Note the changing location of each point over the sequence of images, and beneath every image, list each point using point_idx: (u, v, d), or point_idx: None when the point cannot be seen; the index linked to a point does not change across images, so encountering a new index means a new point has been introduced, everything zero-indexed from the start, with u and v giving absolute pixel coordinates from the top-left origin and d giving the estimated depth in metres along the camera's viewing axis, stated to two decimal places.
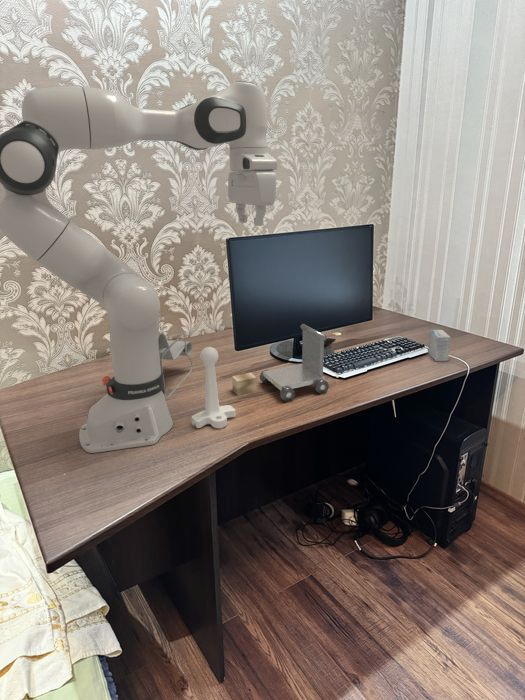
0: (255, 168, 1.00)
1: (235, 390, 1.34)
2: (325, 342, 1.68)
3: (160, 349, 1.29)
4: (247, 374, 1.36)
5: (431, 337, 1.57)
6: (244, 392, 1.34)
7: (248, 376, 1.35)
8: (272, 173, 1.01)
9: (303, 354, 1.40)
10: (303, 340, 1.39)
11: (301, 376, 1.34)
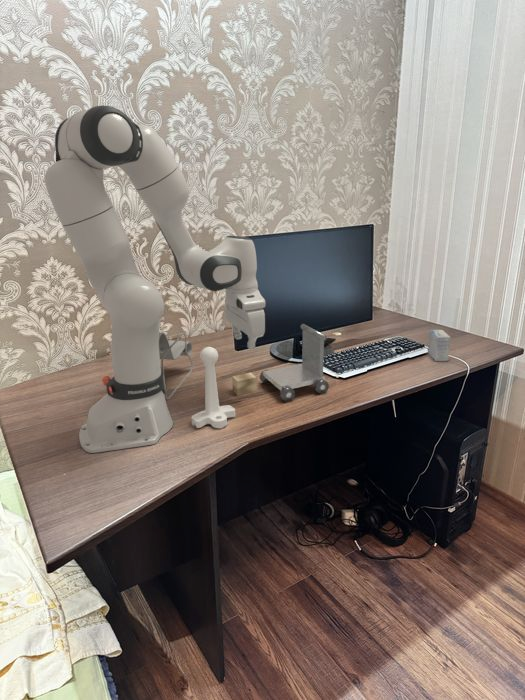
0: (247, 309, 1.19)
1: (235, 390, 1.34)
2: (325, 342, 1.69)
3: (161, 349, 1.29)
4: (247, 374, 1.36)
5: (431, 337, 1.57)
6: (244, 392, 1.34)
7: (248, 376, 1.35)
8: (261, 312, 1.20)
9: (303, 354, 1.40)
10: (303, 340, 1.39)
11: (301, 376, 1.34)
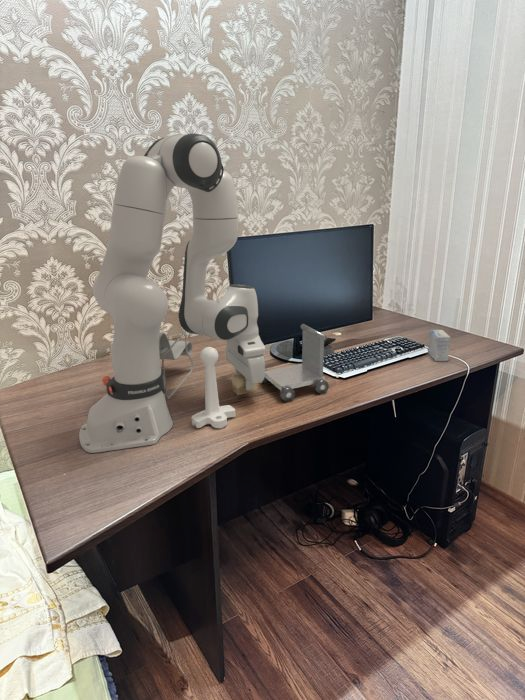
0: (247, 356, 1.23)
1: (235, 390, 1.34)
2: (324, 341, 1.69)
3: (162, 349, 1.29)
4: None
5: (431, 337, 1.57)
6: (244, 392, 1.34)
7: None
8: (262, 358, 1.24)
9: (303, 354, 1.40)
10: (303, 340, 1.39)
11: (301, 376, 1.34)
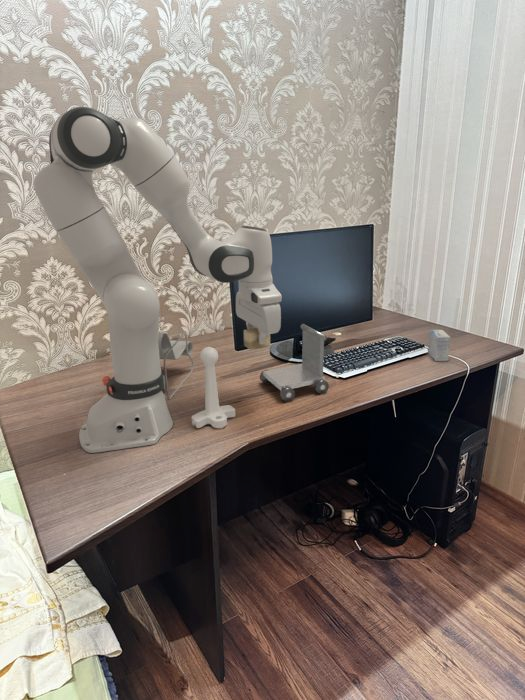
0: (262, 303, 1.13)
1: (247, 344, 1.24)
2: (324, 341, 1.69)
3: (163, 349, 1.29)
4: None
5: (431, 337, 1.57)
6: (257, 346, 1.24)
7: None
8: (277, 306, 1.14)
9: (303, 354, 1.40)
10: (303, 340, 1.39)
11: (301, 376, 1.34)
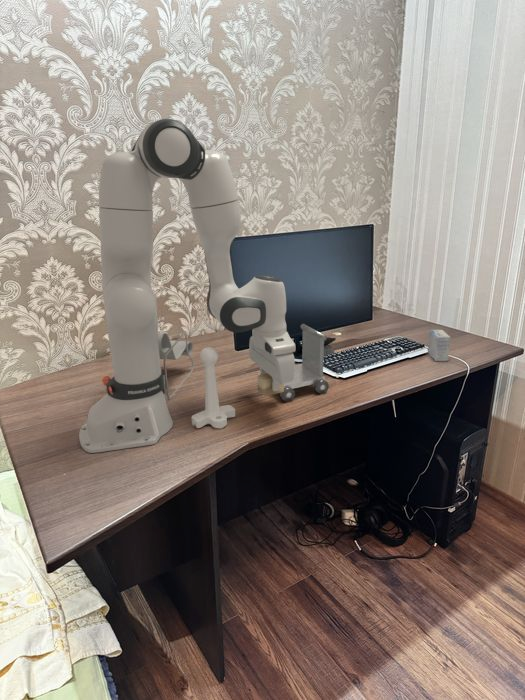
0: (276, 354, 1.13)
1: (261, 390, 1.24)
2: (324, 341, 1.69)
3: (163, 349, 1.29)
4: None
5: (431, 337, 1.57)
6: (271, 393, 1.23)
7: None
8: (291, 357, 1.14)
9: (303, 354, 1.40)
10: (303, 340, 1.39)
11: (301, 376, 1.34)
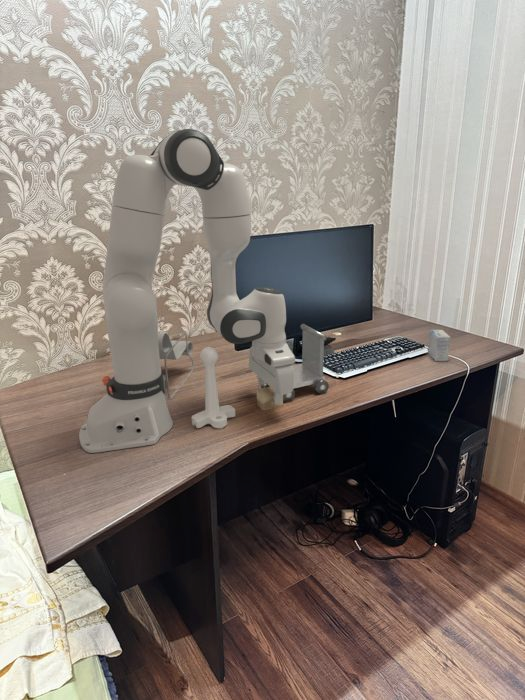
0: (276, 366, 1.14)
1: (260, 405, 1.25)
2: (324, 341, 1.70)
3: (164, 349, 1.29)
4: None
5: (431, 337, 1.57)
6: (270, 407, 1.25)
7: None
8: (291, 368, 1.15)
9: (303, 354, 1.40)
10: (303, 340, 1.39)
11: (301, 376, 1.34)
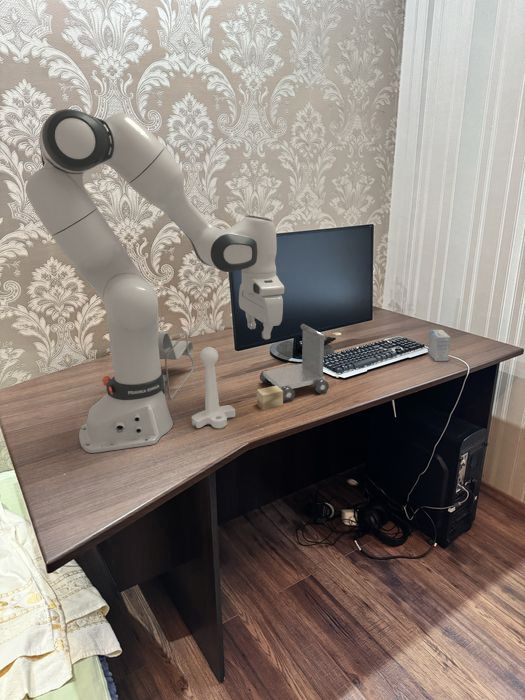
0: (264, 295, 1.11)
1: (260, 405, 1.25)
2: None
3: (164, 349, 1.29)
4: (273, 387, 1.27)
5: (431, 337, 1.57)
6: (270, 407, 1.25)
7: (274, 389, 1.26)
8: (280, 298, 1.12)
9: (303, 354, 1.40)
10: (303, 340, 1.39)
11: (301, 376, 1.34)
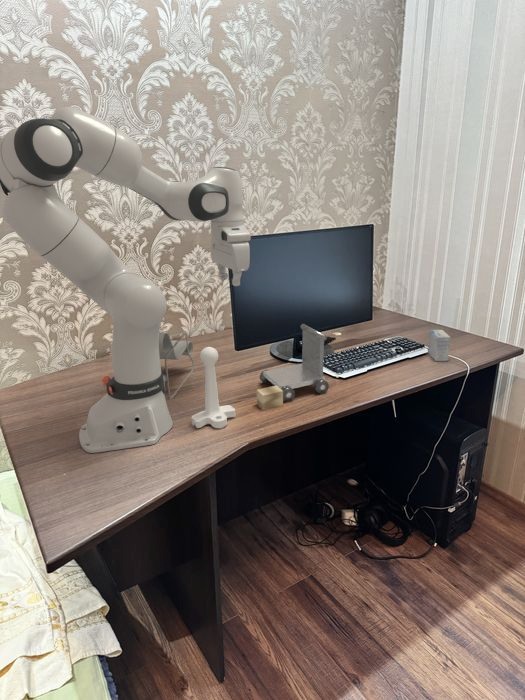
0: (231, 241, 1.17)
1: (260, 405, 1.25)
2: None
3: (164, 349, 1.29)
4: (273, 387, 1.27)
5: (431, 337, 1.57)
6: (270, 407, 1.25)
7: (274, 389, 1.26)
8: (246, 244, 1.19)
9: (303, 354, 1.40)
10: (303, 340, 1.39)
11: (301, 376, 1.34)
